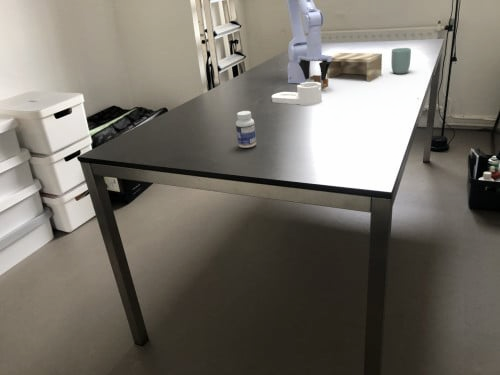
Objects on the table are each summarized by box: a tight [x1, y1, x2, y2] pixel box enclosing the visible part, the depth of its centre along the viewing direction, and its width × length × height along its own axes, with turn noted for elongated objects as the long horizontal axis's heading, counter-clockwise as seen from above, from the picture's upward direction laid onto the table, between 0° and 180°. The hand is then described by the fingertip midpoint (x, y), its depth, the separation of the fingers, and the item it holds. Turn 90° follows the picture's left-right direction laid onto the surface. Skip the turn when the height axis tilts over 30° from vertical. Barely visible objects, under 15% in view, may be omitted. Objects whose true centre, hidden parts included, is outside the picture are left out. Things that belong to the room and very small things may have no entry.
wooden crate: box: [326, 52, 383, 83], centre depth 192 cm, size 20×12×9 cm, turn 51°
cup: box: [390, 47, 412, 75], centre depth 190 cm, size 8×8×10 cm
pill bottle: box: [235, 110, 257, 148], centre depth 128 cm, size 5×5×10 cm
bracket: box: [271, 82, 323, 106], centre depth 167 cm, size 20×9×7 cm, turn 56°
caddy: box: [307, 74, 329, 90], centre depth 180 cm, size 5×12×6 cm, turn 141°
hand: (315, 79), depth 179 cm, fingers open, 7 cm apart
